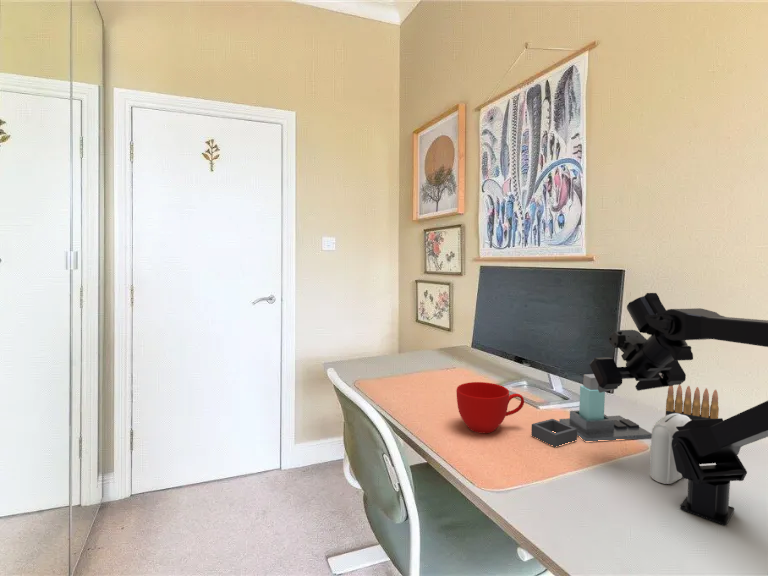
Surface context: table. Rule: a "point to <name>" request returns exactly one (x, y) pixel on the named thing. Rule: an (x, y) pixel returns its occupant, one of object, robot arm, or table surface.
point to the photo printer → (665, 448)
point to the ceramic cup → (484, 405)
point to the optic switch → (605, 428)
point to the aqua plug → (591, 399)
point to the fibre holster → (545, 432)
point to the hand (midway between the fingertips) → (618, 389)
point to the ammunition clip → (695, 406)
